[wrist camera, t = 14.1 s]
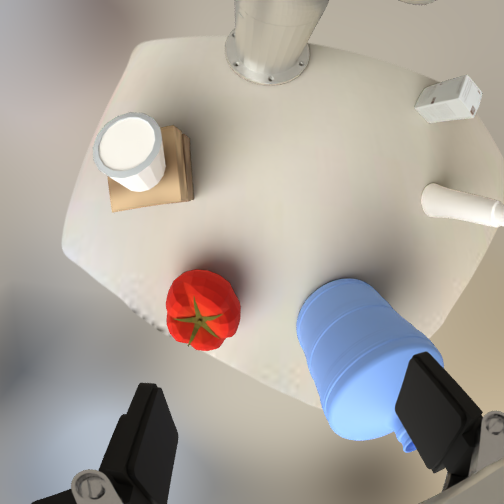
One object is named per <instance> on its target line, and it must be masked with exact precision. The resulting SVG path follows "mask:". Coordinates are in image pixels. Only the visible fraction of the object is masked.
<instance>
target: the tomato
mask: <svg viewBox="0 0 504 504" xmlns="http://www.w3.org/2000/svg"><path fill="white" fill-rule="evenodd" d="M166 309H167V326H168V329H169V332H170V334H171V335H172V336H173V337H174V339H175V340H176V341H178V342H182V343H188V346H189V345H191V346H192V347H193V348H195V349H196V350H202V351H209V350H213V349H217V348H219V347H220V346H221V344H222V343H223V341H224V340H225V339H226V338H227V337H232V336H233V335H234V334H235V333H236V331H237V328H238V325H239V322H240V310H241V306H240V302H239V300H238V298H237V296H236V295H235V293H234V291H233V289H232V286H231V284H230V283H229V282H228V281H227V280H226V279H224V278H223V277H222V276H220V275H218V274H216V273H213V272H211V271H207V270H198V269H195V270H191V271H186V272H184V273H183V274H182V275H180V276H179V277H178V278H176V279H175V280H174V281H173V283H172V285H171V287H170V289H169V292H168V295H167V300H166Z"/></svg>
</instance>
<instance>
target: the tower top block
mask: <svg viewBox="0 0 504 504" xmlns="http://www.w3.org/2000/svg"><path fill="white" fill-rule="evenodd" d="M160 130H161V136H162V143H163V151H164V158H165V165H166V167H165V172H164V176H163V177H162V179H161V180H160V181H159V183H158V184H157V185H155V186H154V187H153V188H151V189H150V190H146V191H143V192H136V191H131V190H129V189H128V188H126V187H124V186H123V185H121V184H120V183H118V182H117V181H115V180H113V179H112V178H110V177H109V176H108V185H109V193H110V200H111V207H112V212H118V211H124V210H129V209H135V208H141V207H147V206H154V205H160V204H167V203H173V202H180V201H184V200H186V199H188V191H187V182H186V173H185V164H184V154H183V144H182V133H181V131H180V130H179V129H178V128H177V127H175V126H174V125H172V126H166V127H161V128H160Z"/></svg>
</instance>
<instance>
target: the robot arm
mask: <svg viewBox="0 0 504 504" xmlns="http://www.w3.org/2000/svg"><path fill="white" fill-rule="evenodd" d="M328 1H329V0H235V29H234V30H233V31H232V32H231V33H230V34H229V36H228V38H227V41H226V44H225V54H226V58H227V61H228V63H229V65H230V67H231V68H232V69H233V70H234V72H235V73H237V74H238V75H239V76H240V77H242V78H244V79H245V80H247V81H250V82H253V83H255V84H260V85H280V84H284V83H287V82H289V81H291V80H293V79H295V78H296V77H298V76H299V75H300V74H301V73H302V72H303V70H304V69H305V68H306V66H307V64H308V61H309V55H310V51H309V46H308V43H307V42H308V40H309V38H310V36H311V34H312V32H313V30H314V28H315V27H316V25H317V23H318V21H319V19H320V18H321V16H322V14H323V12H324V10H325V8H326V7H327V4H328ZM399 1H402V2H405V3H408V4H413V5H426V4H429V3H432V2H434V1H436V0H399ZM234 36H235V37H234ZM235 65H238V66H237V67H236V66H235ZM300 65H302V66H300ZM269 80H272V81H269ZM395 412H396V414H397V416H398V418H399V419H400V421H401V423H402V425H403V426H404V428H405V430H406V431H407V433H408V435H409V437H410V438H411V440H412V442H413V443H414V445H415V447H416V449H417V450H418V452H419V454H420V456H421V458H422V459H423V461H424V463H425V465H426V466H427V468H428V469H432V471H433V473H436V472H438V471H440V470H442V469H444V468H446V469H447V471H448V472H447V476H446V479H445V483H444V486H443V490H442V492H441V493H439V494H437V495H435V496H433V497H431V498H430V499H427V500H425V501H423V502H421V503H419V504H504V413H502V412H500V411H491V412H488V413H487V414H486V415H485V416H484V417H482V415H481V414H482V413H483V412H482V411H481V410H480V408H479V407H478V406H477V405H476V404H475V403H474V402H473V400H471V398H470V397H469V396H468V395H467V393H466V392H465V391H464V390H463V389H462V388H461V387H460V386H459V385H458V384H457V382H456V381H455V380H454V379H453V378H452V377H451V376H450V375H449V374H448V373H447V371H445V369H444V368H443V367H442V366H441V365H440V364H439V363H438V362H437V361H436V360H435V359H434V358H433V357H432V355H431V354H430V353H428V352H426V351H425V352H422V353H418V354H415V355H413V356H412V359H410V360H409V363H408V366H407V370H406V373H405V377H404V380H403V383H402V386H401V389H400V392H399V395H398V398H397V401H396V404H395ZM177 444H178V432H177V429H176V427H175V424H174V422H173V419H172V416H171V414H170V411H169V408H168V405H167V402H166V399H165V397H164V394H163V391H162V389H161V388H158V387H157V385H156V384H152V383H140V384H139V385H138V388H137V390H136V392H135V395H134V397H133V400H132V402H131V404H130V407H129V409H128V412H127V414H123V415H122V416H121V417H120V419H119V421H118V423H117V426H116V428H115V430H114V433H113V435H112V438H111V440H110V443H109V445H108V448H107V450H106V453H105V455H104V458H103V460H102V463H101V465H100V468H99V471H97V470H90V469H89V470H84V471H82V472H79V473H78V474H77V475H76V476H75V477H74V478H73V480H72V483H71V489H69V490H67V491H64V492H61V493H58V494H55V495H52V496H49V497H46V498H43V499H40V500H37V501H35V502H33V503H32V504H167V500H168V494H169V488H170V482H171V476H172V470H173V465H174V460H175V454H176V449H177Z"/></svg>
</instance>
